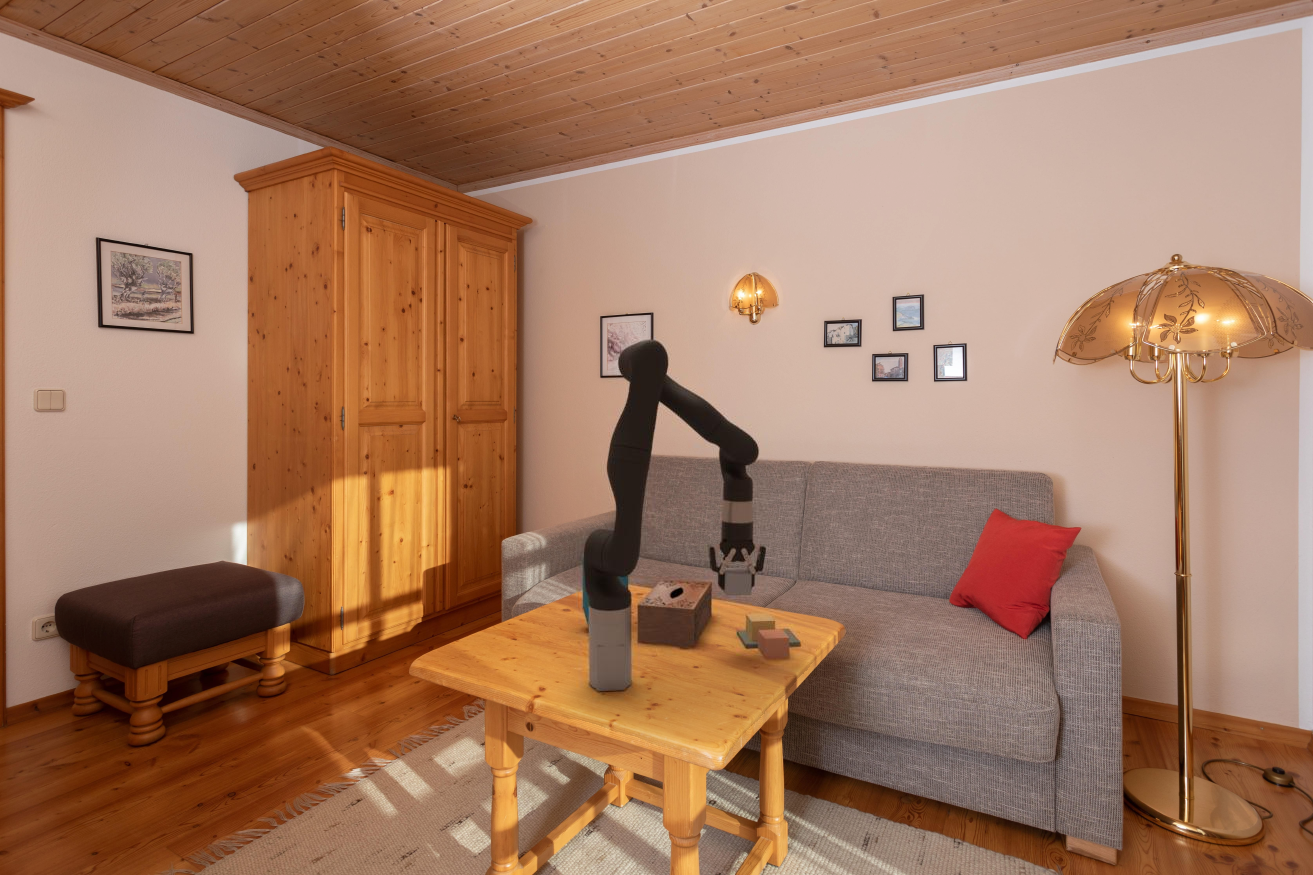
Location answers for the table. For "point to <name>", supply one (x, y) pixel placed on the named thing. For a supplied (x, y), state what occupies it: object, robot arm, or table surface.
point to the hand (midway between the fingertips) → (736, 588)
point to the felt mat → (754, 644)
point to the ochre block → (758, 624)
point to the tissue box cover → (675, 613)
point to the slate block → (737, 581)
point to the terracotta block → (773, 643)
